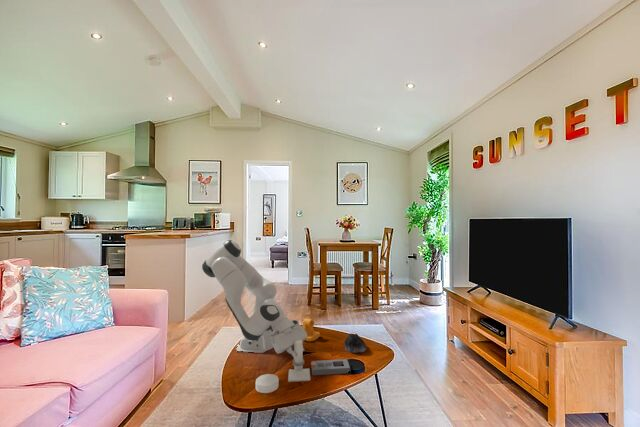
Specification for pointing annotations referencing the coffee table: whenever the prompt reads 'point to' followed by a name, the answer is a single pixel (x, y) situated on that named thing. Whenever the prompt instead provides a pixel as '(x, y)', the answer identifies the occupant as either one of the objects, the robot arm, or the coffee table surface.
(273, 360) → the coffee table surface
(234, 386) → the coffee table surface
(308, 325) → the bracket
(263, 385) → the coaster
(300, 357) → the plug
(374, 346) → the coffee table surface
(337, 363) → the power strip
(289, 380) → the mat
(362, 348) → the crystal cluster
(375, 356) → the coffee table surface
